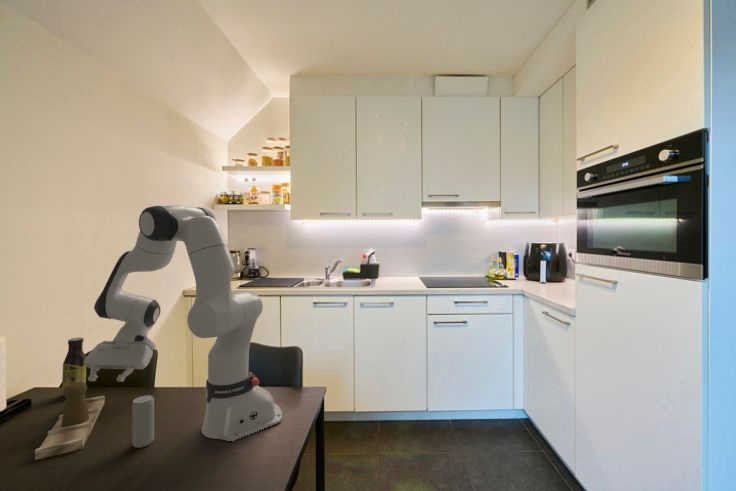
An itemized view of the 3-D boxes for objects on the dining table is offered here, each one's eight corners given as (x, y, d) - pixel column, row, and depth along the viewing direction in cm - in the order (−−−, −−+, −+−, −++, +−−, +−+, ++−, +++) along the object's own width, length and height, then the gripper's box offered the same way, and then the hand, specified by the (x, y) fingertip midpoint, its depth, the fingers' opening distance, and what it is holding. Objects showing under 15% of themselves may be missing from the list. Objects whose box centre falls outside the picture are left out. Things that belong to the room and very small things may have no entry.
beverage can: (134, 440, 88) (135, 396, 88) (155, 436, 90) (155, 393, 90) (129, 450, 84) (129, 404, 84) (151, 446, 86) (151, 401, 85)
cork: (72, 428, 91) (72, 389, 91) (55, 426, 92) (55, 387, 92) (94, 417, 97) (94, 380, 96) (78, 415, 98) (78, 379, 98)
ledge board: (104, 402, 108) (104, 395, 108) (82, 448, 84) (82, 439, 84) (68, 409, 104) (69, 402, 104) (35, 460, 80) (35, 450, 80)
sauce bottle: (57, 398, 112) (56, 340, 111) (76, 389, 118) (76, 335, 118) (72, 399, 111) (72, 341, 110) (91, 391, 117) (91, 336, 117)
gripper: (94, 336, 112) (67, 376, 103) (151, 337, 112) (130, 377, 102) (105, 345, 117) (80, 383, 107) (160, 346, 116) (140, 385, 107)
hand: (105, 380), depth 105 cm, fingers open, 8 cm apart
